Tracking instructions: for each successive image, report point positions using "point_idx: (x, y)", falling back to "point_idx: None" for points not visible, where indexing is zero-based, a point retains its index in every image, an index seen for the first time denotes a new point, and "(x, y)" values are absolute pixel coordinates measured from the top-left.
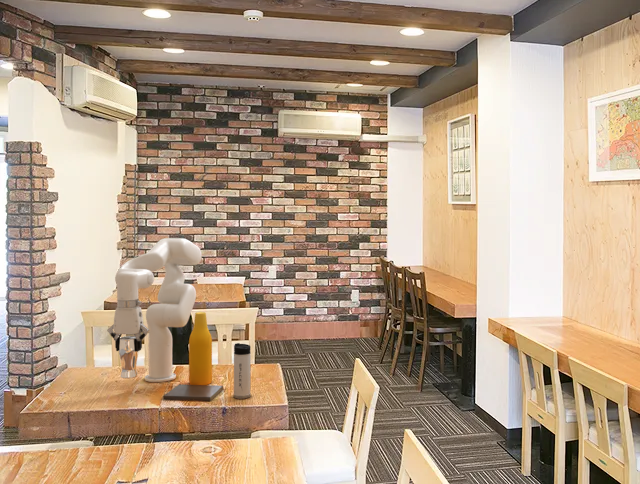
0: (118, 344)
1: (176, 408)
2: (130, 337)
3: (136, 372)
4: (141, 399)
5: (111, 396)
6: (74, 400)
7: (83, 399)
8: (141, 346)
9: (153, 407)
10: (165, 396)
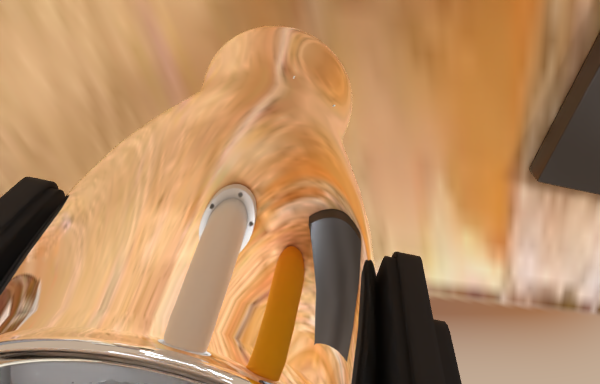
0: None
1: (586, 312)
2: (104, 316)
3: (345, 125)
4: (392, 148)
5: (182, 62)
6: (3, 125)
7: (42, 110)
8: (444, 353)
9: (471, 285)
10: (549, 182)
